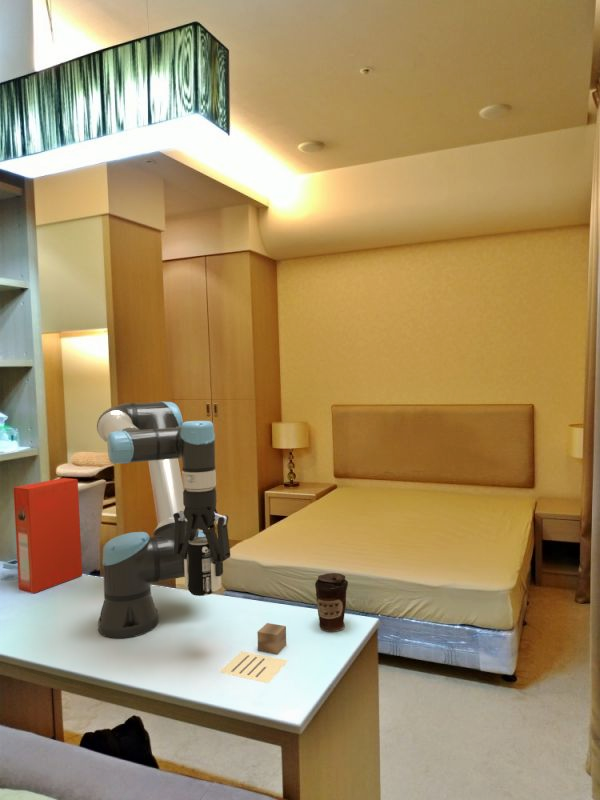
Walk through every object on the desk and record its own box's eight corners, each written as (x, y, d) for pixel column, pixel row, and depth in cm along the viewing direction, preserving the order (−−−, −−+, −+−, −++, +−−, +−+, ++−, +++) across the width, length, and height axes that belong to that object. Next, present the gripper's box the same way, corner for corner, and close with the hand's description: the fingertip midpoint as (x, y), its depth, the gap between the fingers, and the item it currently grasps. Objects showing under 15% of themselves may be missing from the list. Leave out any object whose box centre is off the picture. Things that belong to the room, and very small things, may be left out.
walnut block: (258, 652, 134) (257, 631, 133) (267, 643, 138) (267, 622, 138) (277, 656, 132) (276, 635, 131) (286, 646, 136) (285, 626, 136)
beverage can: (190, 587, 135) (188, 536, 135) (218, 585, 136) (216, 535, 135) (186, 597, 128) (184, 545, 128) (216, 596, 129) (214, 543, 128)
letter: (219, 673, 124) (219, 672, 124) (241, 652, 134) (241, 651, 133) (268, 684, 120) (268, 682, 119) (288, 661, 129) (288, 660, 129)
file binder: (18, 589, 177) (13, 487, 176) (66, 572, 192) (62, 477, 190) (34, 594, 173) (29, 489, 171) (82, 576, 188) (78, 479, 186)
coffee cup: (346, 636, 141) (345, 584, 140) (313, 633, 142) (312, 582, 142) (350, 620, 149) (349, 571, 148) (319, 618, 151) (318, 570, 150)
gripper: (154, 489, 132) (158, 587, 133) (227, 494, 124) (230, 599, 125) (174, 483, 138) (178, 576, 139) (244, 487, 130) (247, 587, 131)
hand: (202, 587), depth 132 cm, fingers closed on beverage can, 6 cm apart
